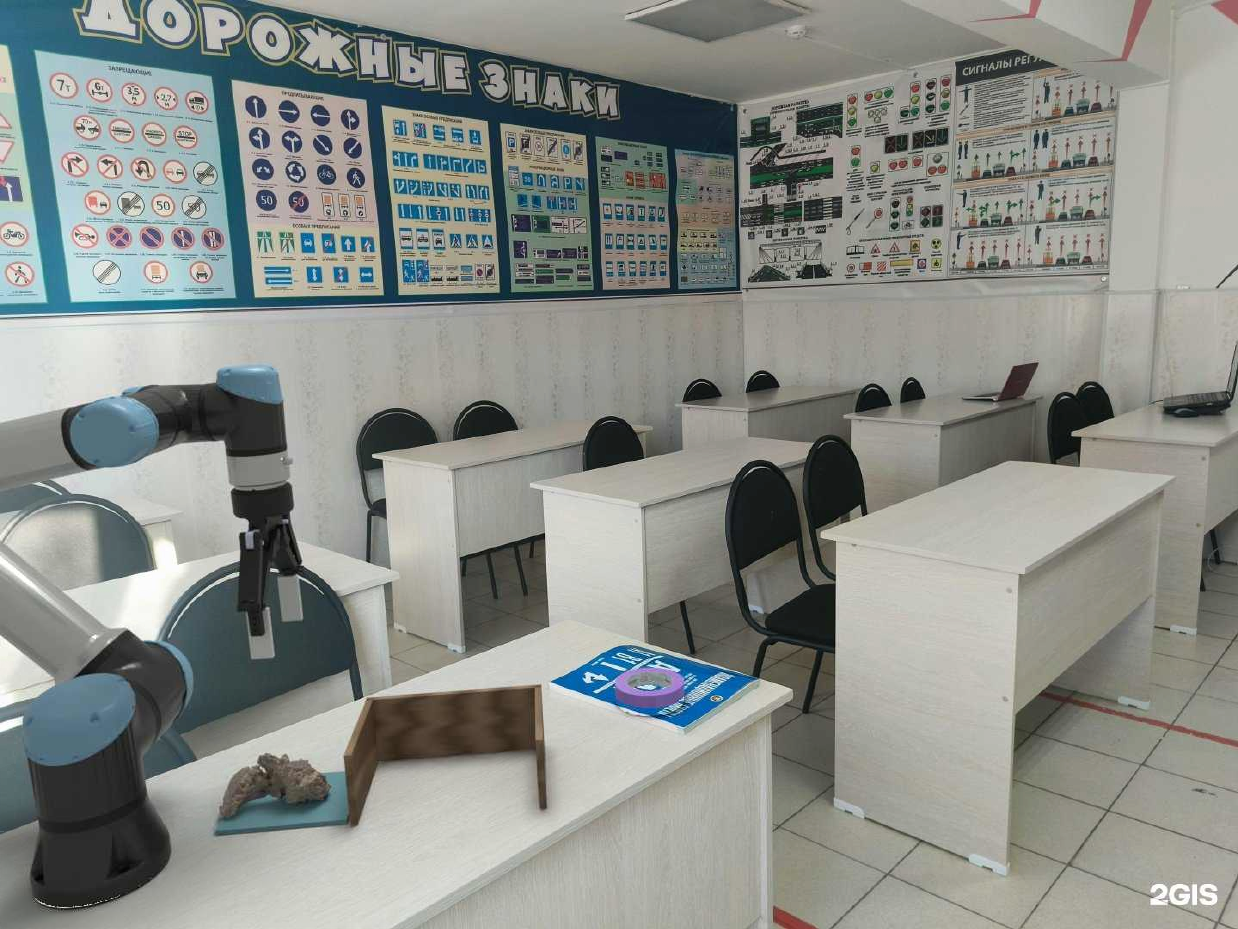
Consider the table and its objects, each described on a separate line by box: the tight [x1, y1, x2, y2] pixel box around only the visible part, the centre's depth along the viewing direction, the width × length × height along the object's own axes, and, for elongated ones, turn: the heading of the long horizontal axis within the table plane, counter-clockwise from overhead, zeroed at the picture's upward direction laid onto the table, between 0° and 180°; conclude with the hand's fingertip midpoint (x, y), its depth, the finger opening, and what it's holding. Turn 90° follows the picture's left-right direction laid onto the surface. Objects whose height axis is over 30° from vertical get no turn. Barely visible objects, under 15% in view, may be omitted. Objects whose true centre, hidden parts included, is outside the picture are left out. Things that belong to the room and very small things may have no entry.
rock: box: [218, 752, 331, 818], centre depth 124 cm, size 6×14×7 cm, turn 97°
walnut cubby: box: [342, 683, 548, 826], centre depth 128 cm, size 26×18×10 cm
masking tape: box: [614, 667, 685, 708], centre depth 153 cm, size 12×12×4 cm
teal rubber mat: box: [214, 770, 350, 835], centre depth 126 cm, size 17×13×1 cm
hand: (278, 638), depth 122 cm, fingers open, 13 cm apart
